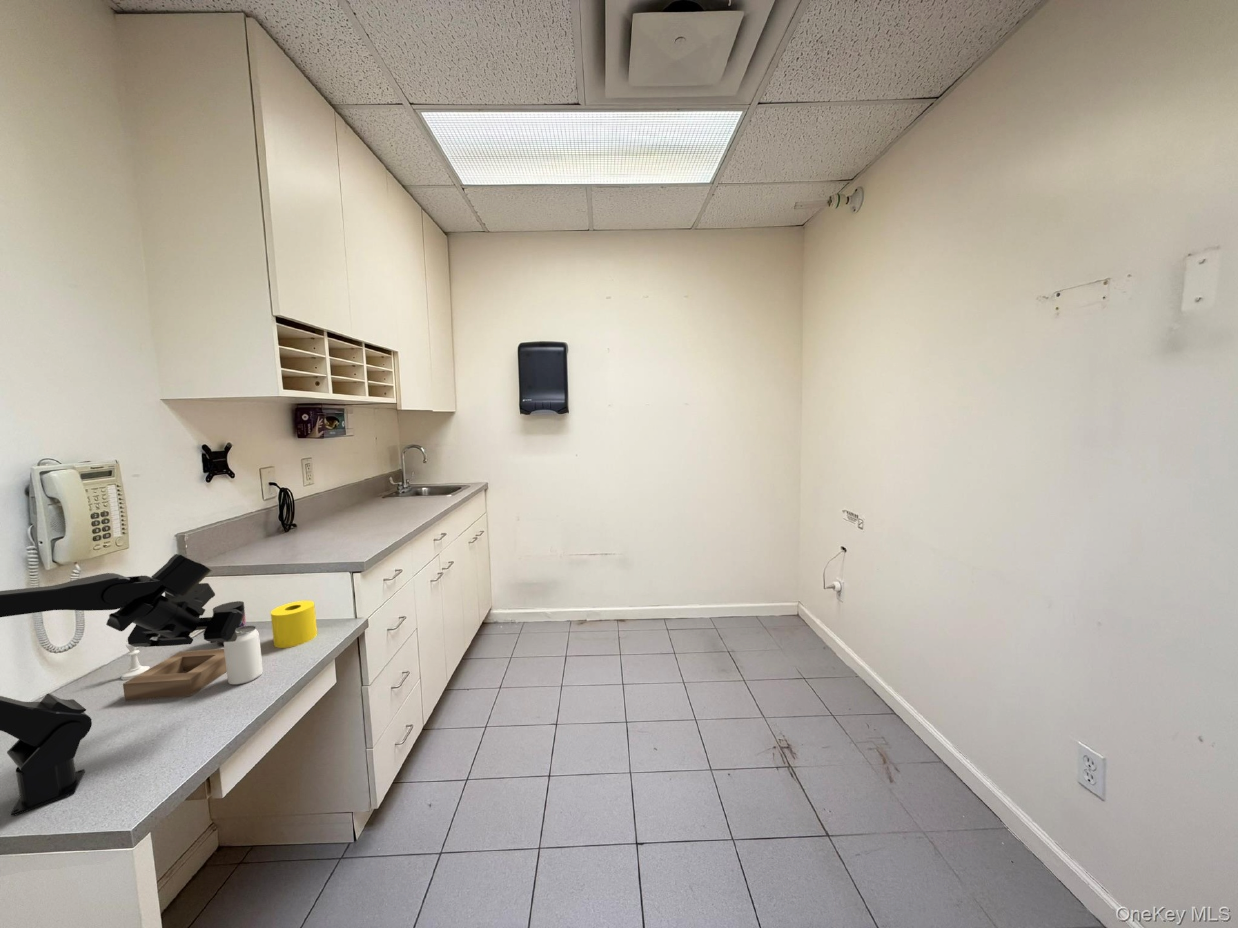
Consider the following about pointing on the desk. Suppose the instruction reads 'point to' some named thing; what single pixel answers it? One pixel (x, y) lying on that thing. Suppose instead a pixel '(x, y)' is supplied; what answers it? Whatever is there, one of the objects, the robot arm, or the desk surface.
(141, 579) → the robot arm
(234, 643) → the can
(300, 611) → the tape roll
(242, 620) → the supplement container
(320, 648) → the desk surface
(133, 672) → the chess piece
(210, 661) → the bored block
